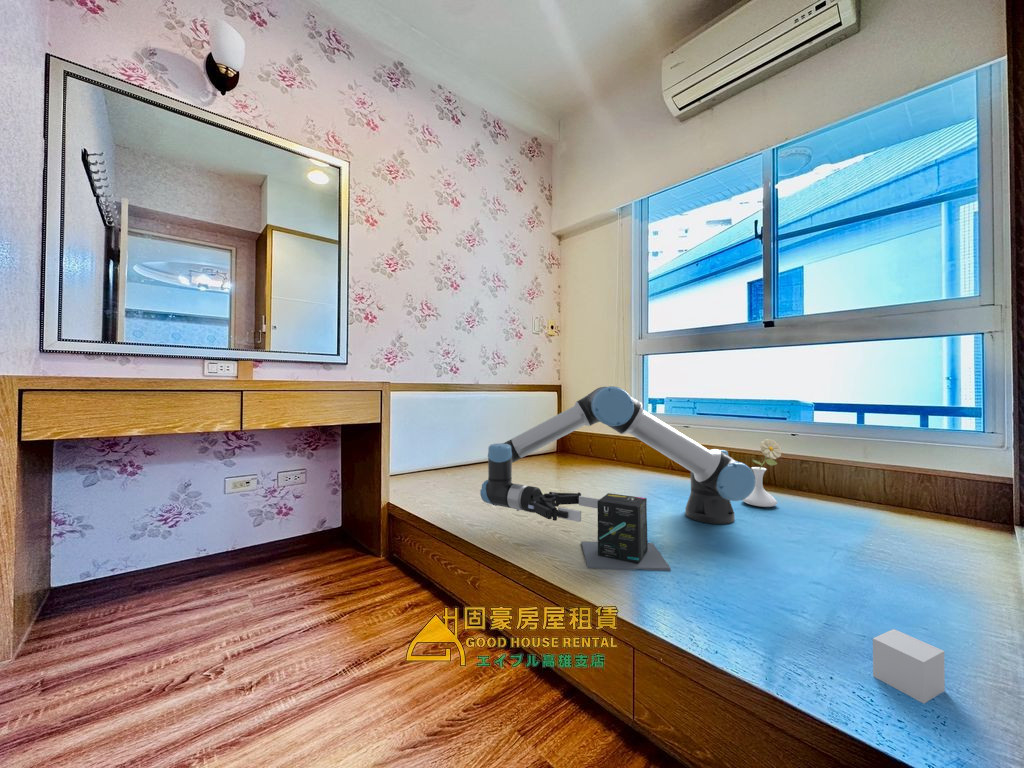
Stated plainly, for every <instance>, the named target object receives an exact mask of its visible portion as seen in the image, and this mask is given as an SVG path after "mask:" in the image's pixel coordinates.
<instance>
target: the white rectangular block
mask: <svg viewBox="0 0 1024 768" xmlns="http://www.w3.org/2000/svg"><path fill="white" fill-rule="evenodd" d="M945 667H946V666H945V650H943V649H941V648H938V647H936V646H933V645H932V644H929V643H927V642H924V641H922V640H920V639H918V638H915V637H913V636H911V635H909V634H907V633H904V632H901V631H899V630H897V629H895V628H893V629H891V630H888V631H886V632H884V633H882V634H879V635H877V636H875V637H873V638H872V676H873V678H876V679H877V680H880V681H881V682H883V683H885V684H887V685H889V686H890V687H892V688H894V689H896V690H897V691H900V692H902V693H904V694H905V695H907V696H909V697H911V698H913V699H914V700H916V701H918V702H920V703H922V704H926V703H928V702H929V701H931V700H932V699H935V697H937V696H939V695H940V694H942V693H944V692H946V691H945V688H946V687H945V685H946V682H945V681H946V680H945V677H946V676H945V670H946V669H945Z"/></svg>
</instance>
